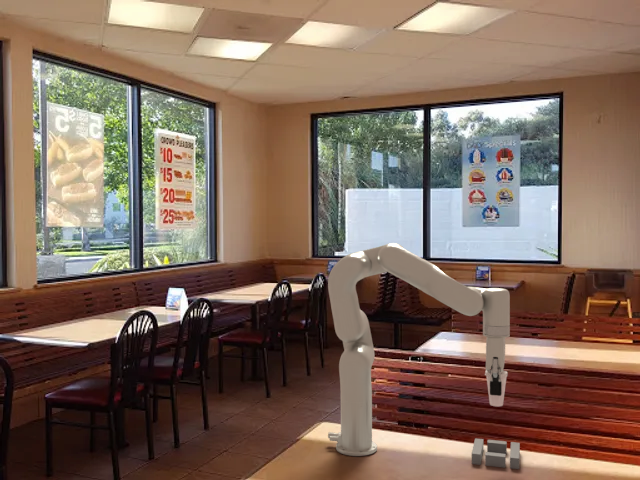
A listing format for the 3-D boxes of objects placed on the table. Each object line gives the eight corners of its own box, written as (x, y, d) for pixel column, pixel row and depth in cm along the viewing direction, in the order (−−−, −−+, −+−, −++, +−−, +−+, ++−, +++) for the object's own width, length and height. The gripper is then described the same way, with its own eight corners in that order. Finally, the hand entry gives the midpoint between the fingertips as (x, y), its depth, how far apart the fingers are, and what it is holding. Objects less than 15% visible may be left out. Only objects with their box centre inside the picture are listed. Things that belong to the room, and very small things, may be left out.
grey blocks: (471, 463, 177) (471, 453, 177) (475, 448, 190) (475, 438, 190) (519, 469, 173) (519, 458, 173) (519, 452, 186) (519, 442, 186)
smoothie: (508, 408, 177) (508, 359, 177) (485, 407, 179) (485, 358, 178) (506, 402, 184) (506, 355, 183) (484, 400, 185) (484, 354, 185)
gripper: (484, 325, 190) (484, 383, 190) (481, 335, 174) (481, 398, 174) (510, 326, 188) (510, 385, 188) (509, 336, 171) (508, 401, 172)
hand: (496, 391), depth 181 cm, fingers closed on smoothie, 6 cm apart
